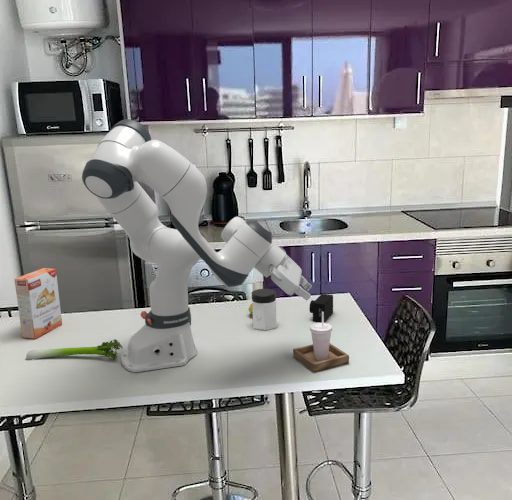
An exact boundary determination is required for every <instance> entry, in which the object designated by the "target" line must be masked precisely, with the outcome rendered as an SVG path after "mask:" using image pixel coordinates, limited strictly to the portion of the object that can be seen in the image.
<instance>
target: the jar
mask: <svg viewBox="0 0 512 500" xmlns="http://www.w3.org/2000/svg"><path fill="white" fill-rule="evenodd" d="M276 299H277V292H276V291H275V290H274V289H272V288H259V289H255V290H252V292H251V304H252V308H253V315H252V326H253V329H254V330H260V331H269V330H273V329H276V328H277V301H276Z"/></svg>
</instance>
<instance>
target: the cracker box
mask: <svg viewBox="0 0 512 500" xmlns="http://www.w3.org/2000/svg"><path fill="white" fill-rule="evenodd" d="M14 286H15V293H16V300H17V308H18V314H19V315H18V316H19V323H20V329H21V336H22V338H23V339H31V340H36V339H38V338H40V337H42V336H44V335H46V334H48V333H50V332H51V331H53V330H55V329H56V327H57V328H58V326H59V327H60V326H62V325H63V320H62V312H61V311H62V309H61V302H60V301H61V300H60V294H59V285H58V276H57V269H56V268H51V267H50V268H48V267H42V268H39V269H37V270H35V271H32V272H29V273H26V274H23V275H20V276H19V277H16V278H14ZM54 328H55V329H54ZM45 333H46V334H45ZM43 334H44V335H43Z"/></svg>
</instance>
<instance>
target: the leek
mask: <svg viewBox="0 0 512 500" xmlns="http://www.w3.org/2000/svg"><path fill="white" fill-rule="evenodd" d="M123 347H124V346H122V344H121V343H120V341H119V340H117V339H116V338H115V339H113V340H110V341H102V343H101V344H100V345H97V346H82V347H81V346H80V347H63V348H62V347H61V348H49V349H36V350H35V349H33V350H29V351H28V352H27V353H26V355H25V360H26V361H31V360H32V359H34V360H40V359H45V358H54V357H62V356H75V355H97V356H98V355H99V356H105V357H107V358H110V359H111V360H112V361H113V360H114V361H115V360H116V358H117V356H118V352H117V350H118V351H120V350H123Z"/></svg>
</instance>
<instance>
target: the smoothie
mask: <svg viewBox="0 0 512 500" xmlns="http://www.w3.org/2000/svg"><path fill="white" fill-rule="evenodd" d="M309 331H310V332H311V340H312V344H313V348H314V355H315V359H316V360H319V361H324V360H327V359H328V353H329V345H330V344H331V338H332V337H331V335H332V332H333V325H331V324H329V323H327V322H325V323H324V312H322V323H319V322H314V323H312V324H310V326H309Z"/></svg>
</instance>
